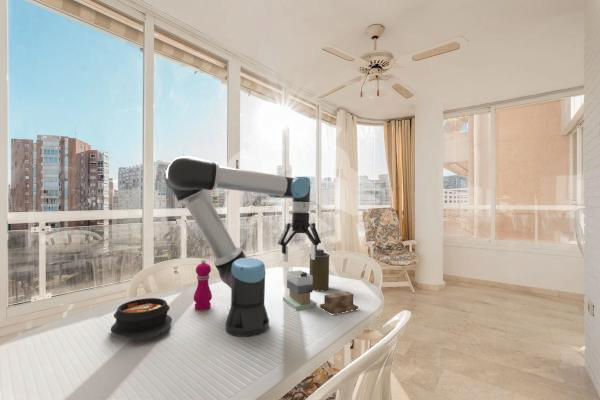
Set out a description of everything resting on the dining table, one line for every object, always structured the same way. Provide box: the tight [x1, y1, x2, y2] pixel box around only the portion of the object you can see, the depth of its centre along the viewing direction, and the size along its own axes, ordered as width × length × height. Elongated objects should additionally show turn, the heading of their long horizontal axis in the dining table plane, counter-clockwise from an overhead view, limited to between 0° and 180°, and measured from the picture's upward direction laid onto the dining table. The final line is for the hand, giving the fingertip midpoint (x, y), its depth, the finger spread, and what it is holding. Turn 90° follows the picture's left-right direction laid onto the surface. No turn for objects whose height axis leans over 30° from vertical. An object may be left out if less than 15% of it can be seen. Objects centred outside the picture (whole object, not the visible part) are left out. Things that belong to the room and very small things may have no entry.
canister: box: [309, 248, 330, 292], centre depth 154 cm, size 11×10×20 cm
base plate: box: [286, 279, 314, 294], centre depth 130 cm, size 11×7×4 cm, turn 28°
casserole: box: [110, 297, 173, 341], centre depth 102 cm, size 25×19×8 cm
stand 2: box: [319, 291, 359, 315], centre depth 125 cm, size 13×9×6 cm
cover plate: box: [286, 270, 313, 286], centre depth 130 cm, size 11×7×5 cm, turn 28°
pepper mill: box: [193, 259, 213, 311], centre depth 123 cm, size 7×7×20 cm
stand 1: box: [282, 288, 318, 311], centre depth 130 cm, size 10×13×6 cm
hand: (299, 260), depth 130 cm, fingers open, 13 cm apart
